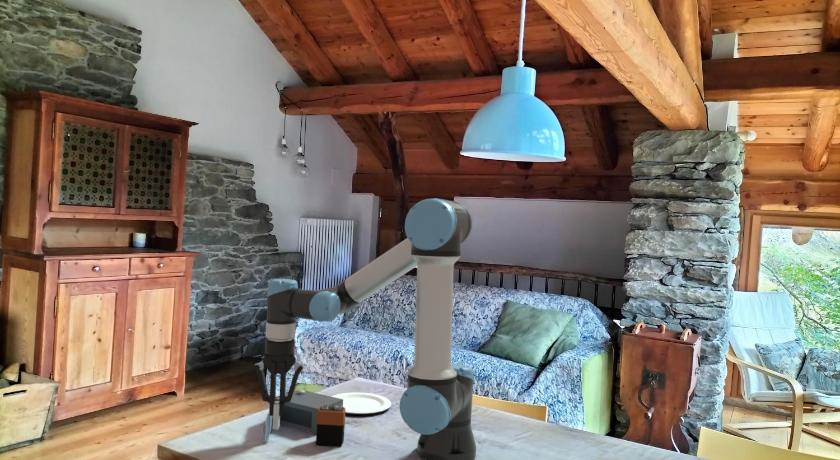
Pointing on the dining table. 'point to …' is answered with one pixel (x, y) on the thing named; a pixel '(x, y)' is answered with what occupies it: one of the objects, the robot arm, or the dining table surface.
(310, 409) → the camera body
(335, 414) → the battery
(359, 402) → the plate
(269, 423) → the door
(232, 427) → the dining table surface
